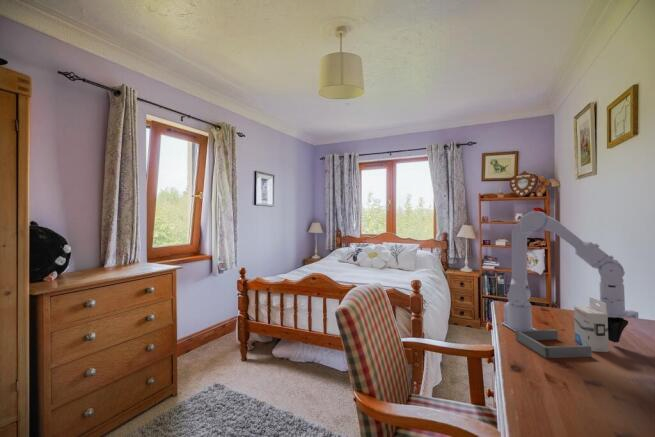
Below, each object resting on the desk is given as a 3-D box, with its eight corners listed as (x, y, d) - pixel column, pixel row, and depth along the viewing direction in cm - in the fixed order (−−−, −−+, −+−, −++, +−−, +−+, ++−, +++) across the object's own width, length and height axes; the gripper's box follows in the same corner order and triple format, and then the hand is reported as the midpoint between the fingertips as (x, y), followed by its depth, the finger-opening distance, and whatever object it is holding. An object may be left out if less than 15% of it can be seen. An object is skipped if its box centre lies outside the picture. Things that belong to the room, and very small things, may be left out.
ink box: (574, 340, 101) (572, 296, 101) (591, 341, 100) (589, 296, 100) (590, 351, 92) (589, 303, 92) (609, 352, 91) (607, 303, 91)
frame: (515, 339, 103) (515, 330, 103) (555, 338, 103) (555, 329, 103) (545, 358, 89) (545, 347, 89) (591, 356, 89) (591, 346, 89)
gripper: (600, 302, 92) (602, 347, 92) (648, 300, 92) (649, 345, 92) (581, 296, 99) (582, 338, 99) (625, 295, 99) (626, 336, 99)
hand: (613, 341), depth 96 cm, fingers closed
